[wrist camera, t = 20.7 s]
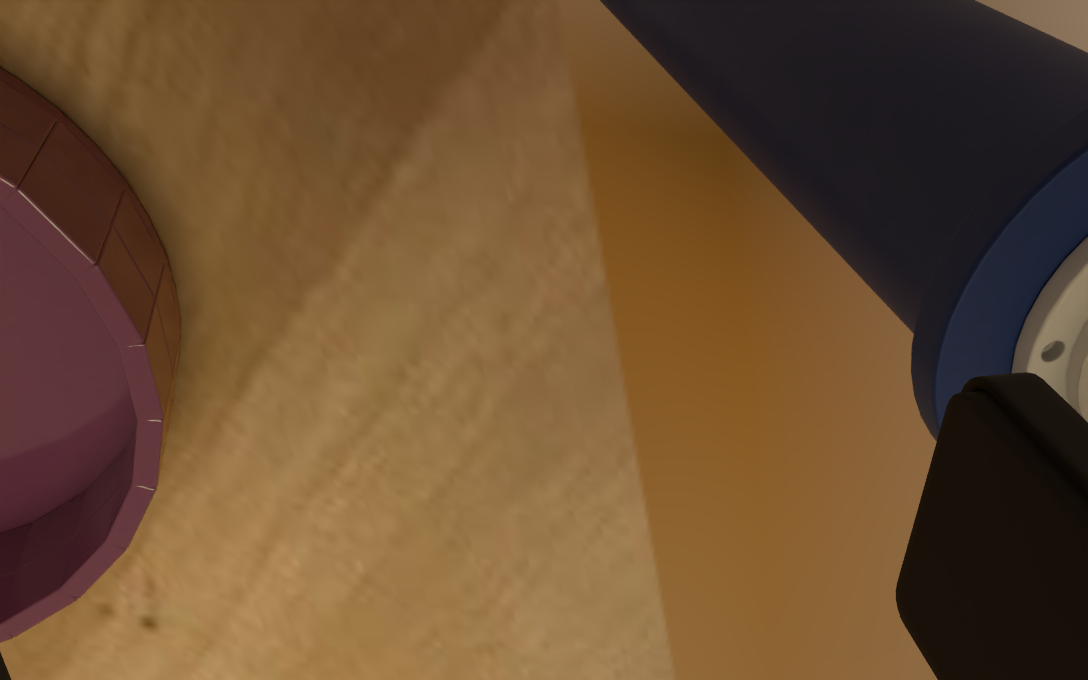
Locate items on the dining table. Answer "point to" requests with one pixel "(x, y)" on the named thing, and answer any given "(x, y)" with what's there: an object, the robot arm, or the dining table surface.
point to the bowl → (74, 360)
